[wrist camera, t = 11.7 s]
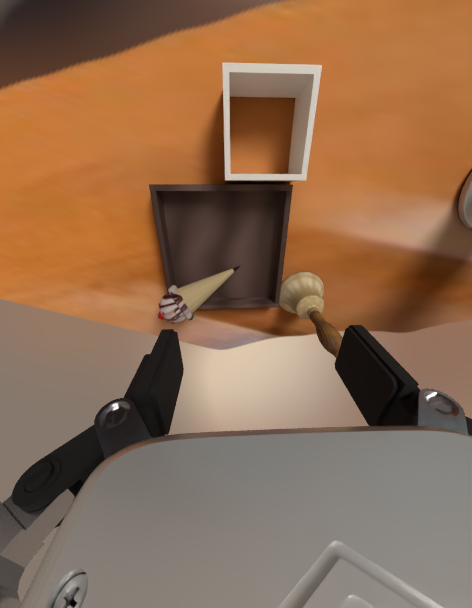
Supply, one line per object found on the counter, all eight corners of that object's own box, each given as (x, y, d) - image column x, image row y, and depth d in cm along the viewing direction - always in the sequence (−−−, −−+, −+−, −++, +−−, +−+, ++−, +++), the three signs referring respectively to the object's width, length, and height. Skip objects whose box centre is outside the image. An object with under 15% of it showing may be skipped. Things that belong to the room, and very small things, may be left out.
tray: (286, 184, 29) (292, 184, 27) (274, 298, 38) (278, 307, 35) (155, 184, 29) (148, 184, 26) (174, 301, 37) (170, 309, 35)
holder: (301, 91, 25) (322, 65, 19) (291, 181, 29) (305, 180, 24) (222, 89, 24) (222, 62, 19) (224, 181, 29) (225, 180, 24)
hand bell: (295, 320, 41) (332, 389, 27) (267, 293, 38) (293, 356, 24) (331, 292, 38) (394, 353, 24) (305, 261, 35) (359, 310, 21)
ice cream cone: (231, 243, 32) (141, 297, 29) (253, 271, 31) (163, 331, 28) (229, 260, 37) (154, 307, 34) (249, 285, 36) (173, 336, 33)
